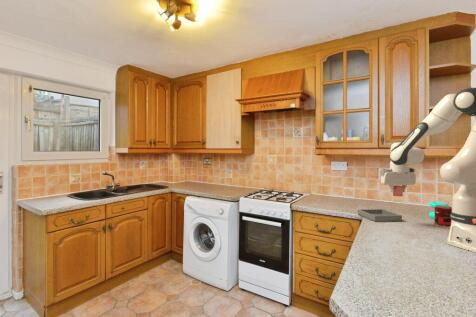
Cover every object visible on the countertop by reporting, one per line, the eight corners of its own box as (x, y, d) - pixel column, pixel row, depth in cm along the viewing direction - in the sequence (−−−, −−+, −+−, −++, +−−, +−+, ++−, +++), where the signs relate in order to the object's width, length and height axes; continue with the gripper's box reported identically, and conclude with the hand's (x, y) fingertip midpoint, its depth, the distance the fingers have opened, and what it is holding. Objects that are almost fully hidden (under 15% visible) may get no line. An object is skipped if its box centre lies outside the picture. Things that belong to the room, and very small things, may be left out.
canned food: (435, 221, 157) (435, 204, 156) (452, 224, 151) (452, 206, 151) (433, 224, 151) (433, 205, 151) (450, 227, 146) (451, 208, 145)
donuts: (452, 204, 162) (438, 204, 161) (452, 219, 162) (438, 220, 161) (439, 201, 172) (425, 201, 171) (438, 216, 172) (425, 216, 171)
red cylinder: (404, 196, 149) (404, 186, 149) (396, 196, 148) (397, 186, 148) (398, 195, 154) (398, 185, 154) (390, 195, 153) (391, 185, 153)
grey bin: (401, 221, 157) (401, 215, 157) (374, 221, 155) (374, 216, 155) (382, 214, 175) (382, 209, 175) (357, 214, 173) (357, 209, 173)
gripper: (385, 169, 146) (385, 193, 147) (418, 169, 149) (417, 192, 149) (378, 168, 153) (378, 191, 153) (409, 168, 155) (409, 191, 155)
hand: (397, 192), depth 151 cm, fingers closed on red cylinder, 5 cm apart
